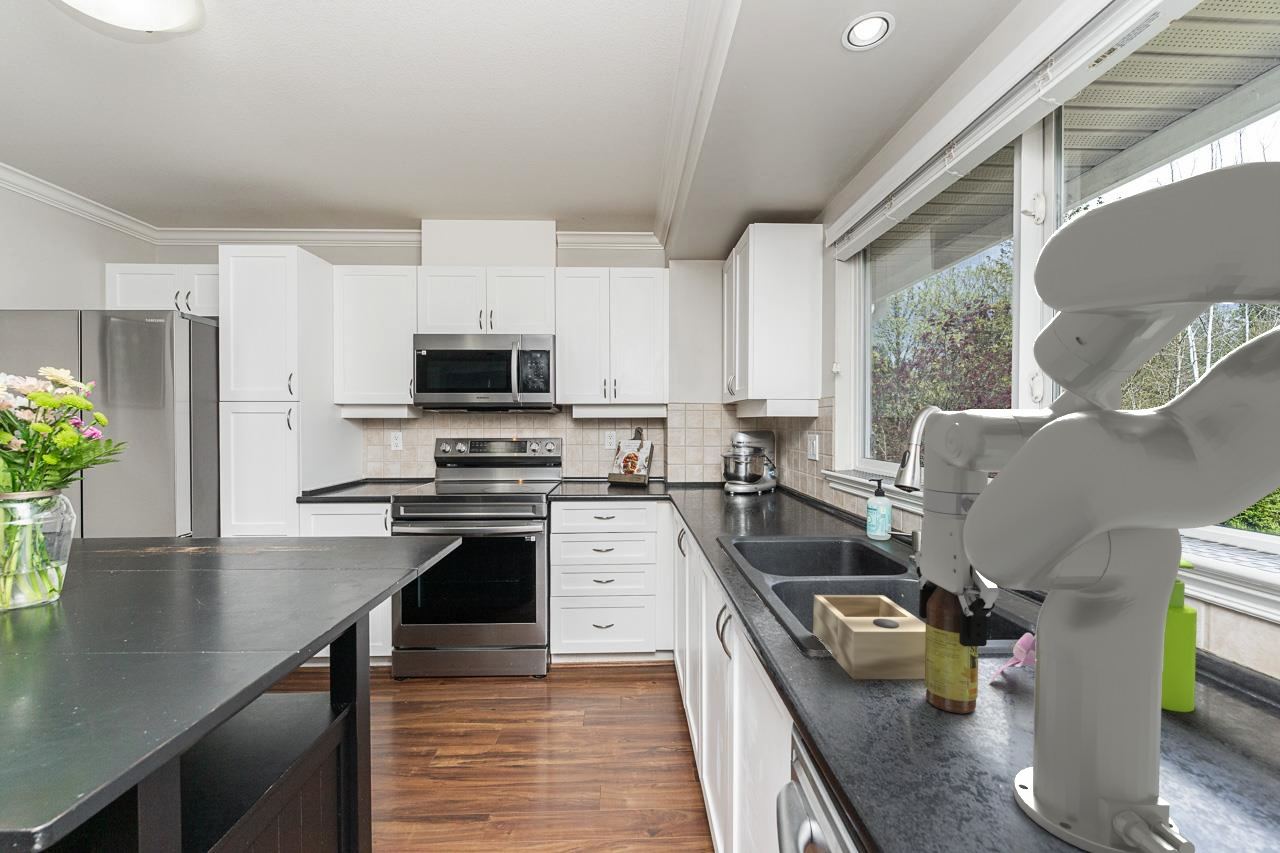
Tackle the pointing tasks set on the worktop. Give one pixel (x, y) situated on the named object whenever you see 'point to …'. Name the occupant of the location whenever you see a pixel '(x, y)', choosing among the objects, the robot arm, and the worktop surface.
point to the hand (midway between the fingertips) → (950, 630)
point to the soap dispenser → (1179, 651)
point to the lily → (1021, 653)
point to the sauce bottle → (949, 656)
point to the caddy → (871, 636)
